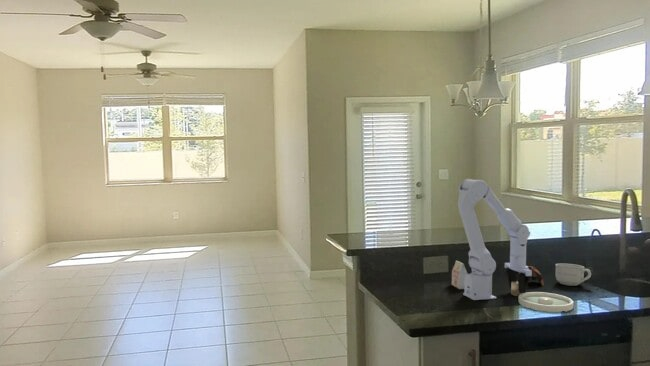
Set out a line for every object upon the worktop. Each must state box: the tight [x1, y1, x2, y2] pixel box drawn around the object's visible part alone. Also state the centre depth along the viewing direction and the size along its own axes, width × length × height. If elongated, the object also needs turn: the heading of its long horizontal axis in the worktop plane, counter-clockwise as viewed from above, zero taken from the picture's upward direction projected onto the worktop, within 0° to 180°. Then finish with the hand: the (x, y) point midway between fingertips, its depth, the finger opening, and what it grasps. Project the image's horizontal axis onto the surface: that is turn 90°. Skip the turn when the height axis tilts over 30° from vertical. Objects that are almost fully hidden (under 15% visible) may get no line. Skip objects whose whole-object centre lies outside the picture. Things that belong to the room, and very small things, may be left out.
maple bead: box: [510, 280, 523, 297], centre depth 198 cm, size 4×4×4 cm
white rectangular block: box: [451, 260, 469, 290], centre depth 209 cm, size 4×7×10 cm, turn 11°
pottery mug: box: [518, 265, 545, 287], centre depth 215 cm, size 12×10×8 cm
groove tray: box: [518, 291, 575, 313], centre depth 185 cm, size 18×18×2 cm
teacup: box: [554, 262, 592, 287], centre depth 212 cm, size 14×11×8 cm
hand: (517, 290), depth 198 cm, fingers open, 6 cm apart
